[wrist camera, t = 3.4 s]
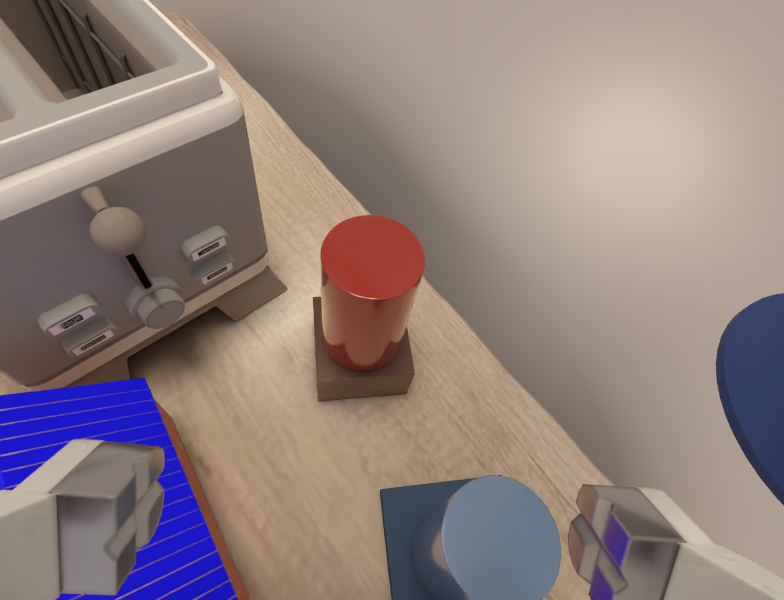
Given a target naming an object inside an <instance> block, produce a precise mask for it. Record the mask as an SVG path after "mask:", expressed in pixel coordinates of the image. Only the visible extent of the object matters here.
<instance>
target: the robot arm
mask: <svg viewBox="0 0 784 600" xmlns="http://www.w3.org/2000/svg"><path fill="white" fill-rule="evenodd" d="M164 468H165V459H164V451H163V449H162V448H161V447H159V446H149V445H140V444H131V443H121V442H112V441H104V440H92V439H74V440H72V441H70V442H69V443H68V444H67V445H66V446H64V447H63V448H62V449H61V450H60V451H58V452H57V453H56V454H55V455H54V456H52V457H51V458H50V459H49V460H48V461H47V462H45V463H44V464H43V465H42V466H41V467H39V468H38V469H37V470H36V471H35V472H33V473H32V474H31V475H30V476H29V477H27V478H26V479H25V480H24V481H23V482H21V483H20V484H19V485H18V486H17V487H16V488H14V489H13V490H0V600H56V599H57V598H58V597H60V593H65V594H95V595H116V594H117V593H118V591H119V589H120V588H121V586H122V585H123V583H124V582H125V580H126V578H127V577H128V575H129V574H130V572H131V570H132V569H133V567H134V566H135V564H136V551H137V550H138V549H140V548H142V547H143V546H145V545H147V544H148V543H149V542H150V540H151V538H152V536H153V535H154V533H155V531H156V529H157V526H158V523H159V521H160V518H161V515H162V509H163V503H164V488H163V487H162V486H161V484H160V483H159V481H158V480H157V478H158V477H159V475H160V474H161V472H162V471H163V470H164ZM576 504H577V506H578V508H579V510H580V512H581V513H580V514H579V515H578V516H577V517H576V518H575V519H574V520H573V521H572V522H571V525H570V530H569V535H568V544H569V554H570V557H571V561H572V564H573V566H574V568H575V570H576V572H577V574H578V575H579V576H581V577H582V578H583V579H584V580H586V581H587V582H588V583H589V584H591V587H590V591H589V596H590V598H591V600H784V578H782V577H780V576H778V575H776V574H775V573H773V572H771V571H769V570H767V569H765V568H764V567H762V566H760V565H758V564H756V563H754V562H753V561H751V560H749V559H747V558H745V557H744V556H742V555H740V554H738V553H736V552H734V551H732V550H731V549H729V548H727V547H725V546H717V545H716V544H715V543H714V542H713V541H712V540H711V539H710V538H709V537H708V536H707V535H706V534H705V533H704V532H703V531H702V530H701V529H700V528H699V527H698V526H697V525H696V524H695V523H694V522H693V521H692V520H691V519H690V518H689V517H688V516H687V515H686V514H685V512H683V510H682V509H681V508H680V507H679V506H678V505H677V504H676V503H675V502H674V501H673V500H672V499H671V498H670V497H669V496H668V495H667V494H666V493H665V492H664V491H662V490H659V489H657V488H644V487H643V488H642V487H621V486H620V487H619V486H604V485H588V484H583V486H582V487H581V489H580V490H579V492H578V496H577V500H576Z"/></svg>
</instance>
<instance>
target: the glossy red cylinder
mask: <svg viewBox="0 0 784 600" xmlns="http://www.w3.org/2000/svg"><path fill="white" fill-rule="evenodd" d="M424 266H425V256H424V252H423V248H422V246H421V243H420V242H419V240H418V238H417V237H416V236H415V235H414V233H412V232H411V231H410V230H409V229H408V228H407V227H405V226H404V225H402V224H400V223H399V222H396V221H395V220H392V219H389V218H386V217H381V216H374V215H365V216H357V217H353V218H350V219H347V220H345V221H343V222H341V223H339V224H338V225H336V226H335V227H334V228H333V229H332V230H331V231H330V232H329V233H328V235H327V236H326V237H325V239H324V241H323V244H322V247H321V317H322V341H323V345H324V347H325V349H326V351H327V353H328V354H329V356H330V357H331V358H332V359H333V360H334V361H335V362H337V363H338V364H339V365H341V366H343V367H345V368H348V369H351V370H355V371H370V370H375V369H378V368H380V367H383V366H384V365H386V364H387V363H389V362H390V361H391V360H392V359H393V358H394V357H395V355H396V354H397V352H398V351H399V348H400V346H401V342H402V339H403V336H404V333H405V329H406V326H407V323H408V320H409V316H410V313H411V310H412V307H413V303H414V300H415V297H416V294H417V290H418V287H419V284H420V281H421V277H422V274H423V271H424Z"/></svg>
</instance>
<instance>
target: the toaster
mask: <svg viewBox="0 0 784 600" xmlns="http://www.w3.org/2000/svg"><path fill="white" fill-rule="evenodd" d="M268 261H269V256H268V249H267V244H266V237H265V232H264V226H263V220H262V214H261V208H260V203H259V197H258V191H257V185H256V180H255V174H254V168H253V162H252V157H251V151H250V145H249V139H248V133H247V128H246V122H245V116H244V110H243V105H242V103H241V101H240V99H239V97H238V95H237V94H236V93H235V91H234V90H233V89H232V88H231V87H230V86H229V85H228V84H227V83H226V82H225V81H224V80H223V79H222V78H221V77H220V76H219V75H218V70H217V66H216V65H215V64H214V63H213V62H212V61H211V60H210V59H209V58H208V57H207V56H206V55H205V54H204V53H203V52H202V51H201V50H200V49H199V48H198V47H197V46H196V45H194V44H193V43H192V42H191V41H190V40H189V39H188V38H187V37H186V36H185V35H184V34H183V33H182V32H181V31H180V30H179V29H178V28H177V27H176V26H175V25H173V24H172V23H171V22H170V21H169V20H168V19H167V18H166V17H165V16H164V15H163V14H162V13H161V12H160V11H159V10H158V9H157V8H156V7H155V6H153V5H152V4H151V3H150V2H149V1H148V0H0V372H1V373H3V374H4V375H6V376H7V377H9V378H10V379H12V380H13V381H15V382H17V383H18V384H19V385H21V386H22V387H24V388H25V389H28V390H30V391H42V390H50V389H58V388H66V387H74V386H83V385H91V384H99V383H107V382H115V381H124V380H130V375H129V370H128V365H127V358H128V357H129V356H131V355H133V354H135V353H136V352H138V351H140V350H141V349H143V348H145V347H146V346H148V345H150V344H151V343H153V342H155V341H157V340H158V339H160V338H162V337H163V336H165V335H167V334H168V333H170V332H172V331H174V330H175V329H177V328H179V327H180V326H182V325H184V324H185V323H187V322H189V321H190V320H192V319H194V318H196V317H197V316H199V315H201V314H202V313H204V312H206V311H207V310H209V309H211V308H212V307H215V306H216V307H217V308H219V309H220V310H221V311H223V312H224V313H225V314H226V315H228V316H229V317H230V318H232V319H233V320H235V321H237V320H239V319H241V318H242V317H244V316H245V315H247V314H249V313H250V312H252V311H253V310H255V309H257V308H258V307H260V306H262V305H263V304H265V303H266V302H268V301H270V300H271V299H273V298H274V297H276V296H278V295H279V294H281V293H283V292H284V291H286V290H287V287H286V286H285V285H284V284H283V283H282V282H281V280H280V279H279V278H278V277H277V276H276V275H275V274H274V272H273V271H272V270H271V269H270V268H269V266H268V265H267V264H268Z"/></svg>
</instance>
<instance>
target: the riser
mask: <svg viewBox="0 0 784 600" xmlns="http://www.w3.org/2000/svg"><path fill="white" fill-rule="evenodd" d="M313 310H314V331H315V350H316V370H317V389H318V401H322V400H334V399H345V398H357V397H369V396H381V395H393V394H405V393H407V391H408V389H409V386H410V384H411V381H412V379H413V377H414V368H413V362H412V356H411V350H410V343H409V337H408V331H407V326H406V329H405V333H404V336H403V339H402V342H401V346H400V348H399V351H398V352H397V354H396V355H395V357H394V358H393V359H392V360H391V361H390V362H389V363H387V364H386V365H384V366H383V367H380V368H378V369H375V370H370V371H355V370H351V369H348V368H345V367H343V366H341V365H339V364H338V363H337V362H335V361H334V360H333V359H332V358H331V357H330V356H329V354H328V353H327V351H326V349H325V347H324V345H323V341H322V317H321V297H313Z"/></svg>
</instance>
